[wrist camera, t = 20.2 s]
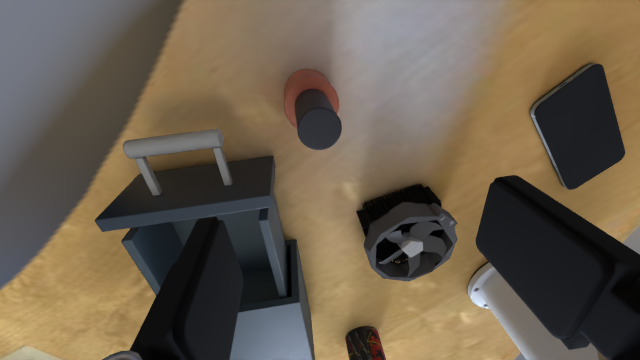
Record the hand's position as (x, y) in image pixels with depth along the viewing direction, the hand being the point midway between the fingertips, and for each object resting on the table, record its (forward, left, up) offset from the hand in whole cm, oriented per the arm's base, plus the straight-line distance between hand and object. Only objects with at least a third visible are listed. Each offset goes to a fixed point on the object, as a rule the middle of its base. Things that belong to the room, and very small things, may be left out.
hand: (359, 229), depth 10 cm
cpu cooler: (-9, +17, -19) cm, 27 cm away
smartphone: (-30, +8, -19) cm, 36 cm away
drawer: (+11, +10, -18) cm, 24 cm away
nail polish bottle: (0, -1, -19) cm, 19 cm away
